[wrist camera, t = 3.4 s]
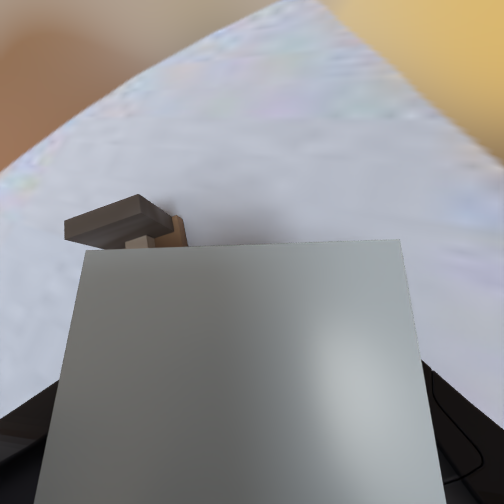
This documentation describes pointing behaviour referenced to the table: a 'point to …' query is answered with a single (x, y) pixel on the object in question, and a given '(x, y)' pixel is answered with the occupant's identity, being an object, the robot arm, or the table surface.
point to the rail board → (127, 226)
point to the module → (242, 380)
